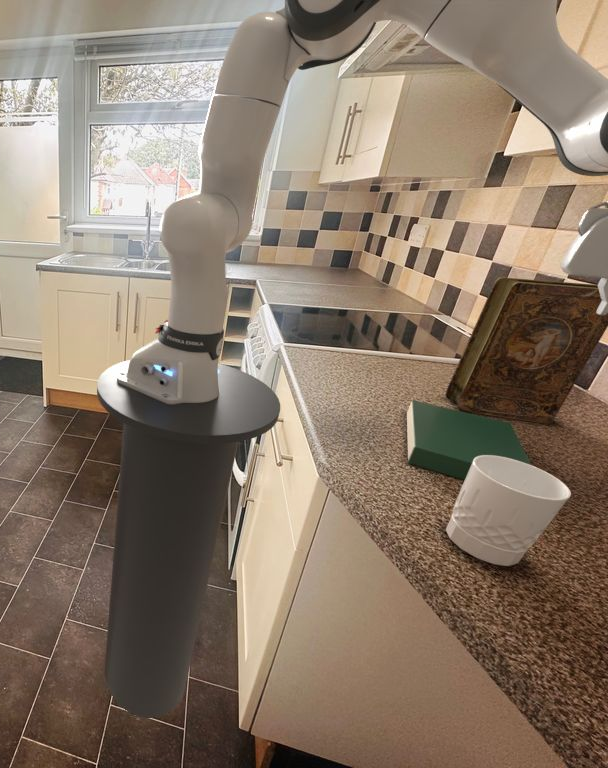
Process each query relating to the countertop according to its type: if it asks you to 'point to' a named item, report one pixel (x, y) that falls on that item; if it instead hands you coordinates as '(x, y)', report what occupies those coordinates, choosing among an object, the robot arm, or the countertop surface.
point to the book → (528, 349)
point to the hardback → (456, 439)
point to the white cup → (504, 508)
